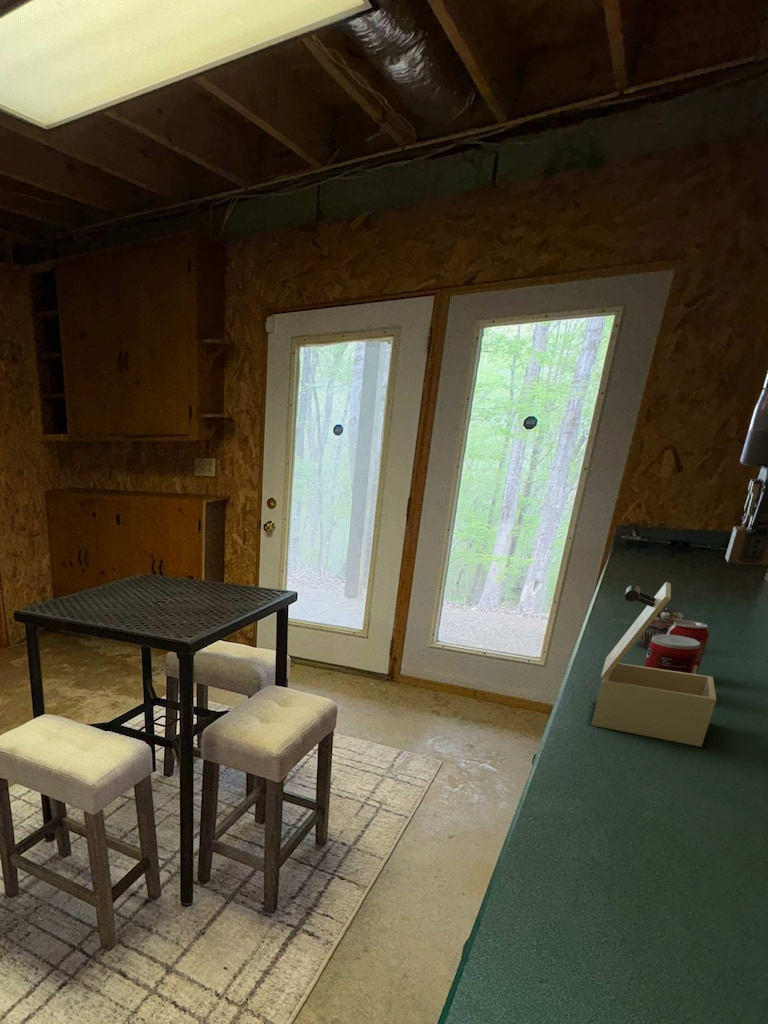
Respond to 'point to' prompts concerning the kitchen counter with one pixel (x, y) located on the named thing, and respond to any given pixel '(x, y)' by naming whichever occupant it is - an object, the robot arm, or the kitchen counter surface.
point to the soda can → (691, 636)
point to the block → (740, 547)
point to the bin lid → (637, 623)
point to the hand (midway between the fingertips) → (748, 558)
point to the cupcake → (660, 625)
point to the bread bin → (656, 703)
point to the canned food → (672, 653)
